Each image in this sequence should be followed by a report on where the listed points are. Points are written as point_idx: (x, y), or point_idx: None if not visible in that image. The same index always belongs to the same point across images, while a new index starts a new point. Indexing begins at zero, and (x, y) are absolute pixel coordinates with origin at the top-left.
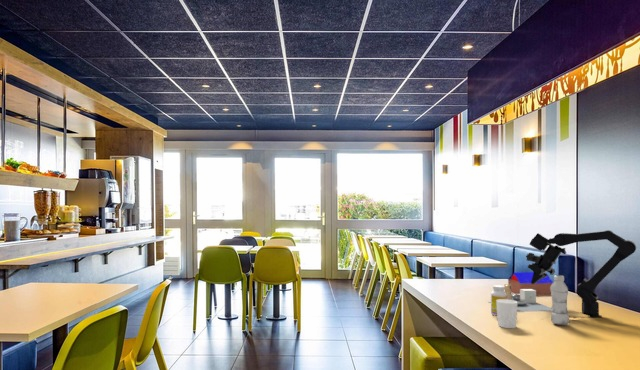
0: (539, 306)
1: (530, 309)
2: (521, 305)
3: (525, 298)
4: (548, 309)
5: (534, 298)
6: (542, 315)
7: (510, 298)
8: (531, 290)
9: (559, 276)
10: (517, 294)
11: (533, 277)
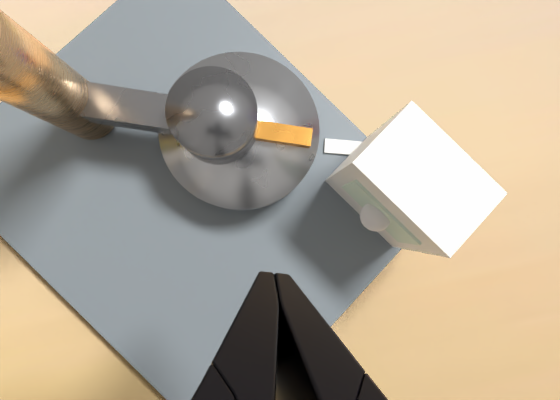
0: None
1: (112, 271)
2: None
3: (338, 180)
4: None
5: (397, 239)
6: (52, 366)
7: (29, 113)
8: (420, 217)
9: None
10: (245, 124)
11: (212, 375)
